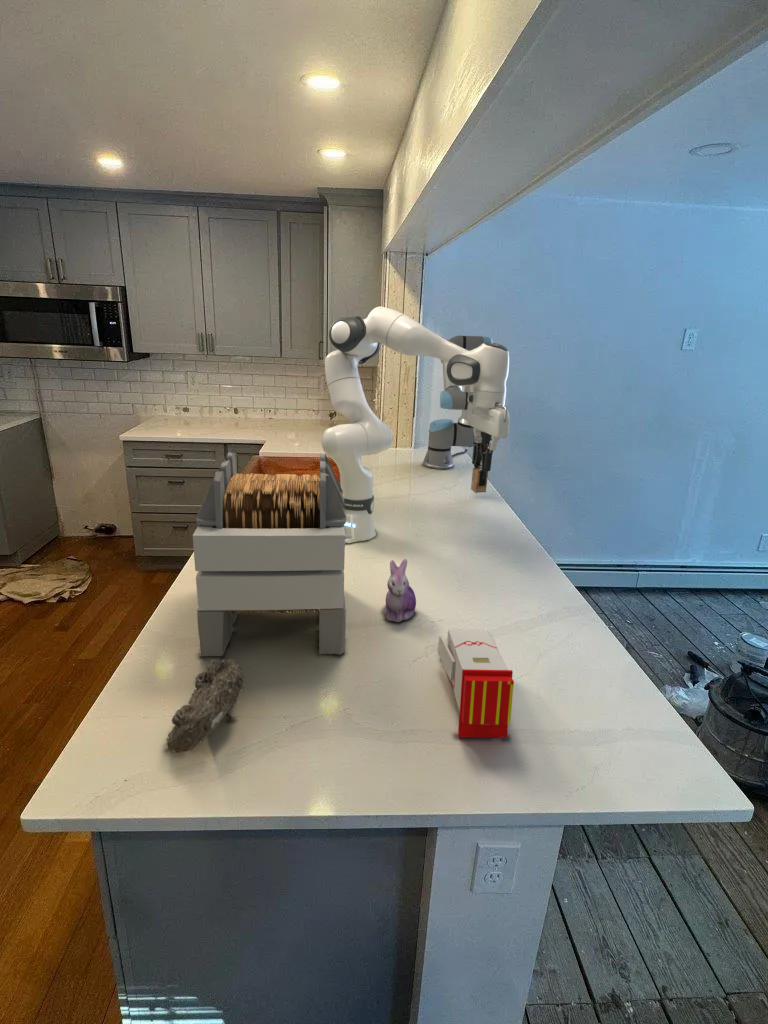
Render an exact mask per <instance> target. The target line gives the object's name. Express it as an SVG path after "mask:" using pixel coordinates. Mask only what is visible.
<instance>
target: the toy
mask: <svg viewBox="0 0 768 1024" xmlns="http://www.w3.org/2000/svg"><path fill="white" fill-rule="evenodd" d="M446 640H447V643H446V641H445V639H444V636H443V635H442V634H439V637H438V646H437V656H438V657H439V659H440V661H441V663H442V666H443V668H444V670H445V672H446V674H447V677H448V679H449V681H450V684H451V687H452V690H453V693H454V697H455V701H456V705H457V708H458V711H459V714H458V715H459V716H458V730H457V731H458V732H457V737H458V738H508V731H509V726H510V725H511V717H512V707H513V697H514V696H513V695H514V684H515V680H514V679H513V673H514V671H513V670H512V669H508V667H507V665H506V662H505V661H504V659H503V658H502V655H501V653H500V651H499V649H498V647H497V643H496V639H495V637H494V635H493V634H491V632H490V631H489V629H467V628H466V629H465V628H463V629H461V628H460V629H459V628H448V630H447V639H446Z"/></svg>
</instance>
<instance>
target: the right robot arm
mask: <svg viewBox="0 0 768 1024" xmlns="http://www.w3.org/2000/svg"><path fill="white" fill-rule="evenodd" d="M447 340H448V341H450V342H453V343H455V344H457V345H459V346H461V347H463V348H465V349H467V350H473V349H475V348H477V347H479V346H481V345H482V344H483V343H486V342H490V343H494V342H493V339H492V338H491V337H489V336H483V335H454V336H453V337H451V338H449V339H447ZM440 363H441V364H442V378H443V390H441V391H440V394H439V407H440V409H441V410H442V409H443V410H448V411H449V410H454V411H456V410H457V411H461V416H460V417H458V418H457V422H454V420H453V419H450V418H449V419H448V418H441V419H435V420H433V421H431V422H430V424H429V429H428V443H427V451H426V454H425V455H424V458H423V464H422V465H423V466H424V467H426V468H428V469H433V470H448V469H452V468H453V467H454V460H453V457H455V456H458V455H463V454H466V453H467V452H468V449H467V448H473V449H472V459H471V464H472V465H473V468H482V470H480V478H479V486H485V484H486V475H487V471H488V472H491V468H492V459H493V452H494V450H490V449H489V444H490V443H491V441H492V439H491V437H492V435H490V434H488V433H485V432H483V431H481V437H482V442H481V443H476V442H475V441H474V440H475V436H474V431H473V429H474V427H472V426H470V425H468V422H467V411H468V404H469V402H468V395H470V394H473V393H476V386H475V385H468V386H464V389H463V386H458V385H455V384H453V383H452V382H451V381H450V380H449V378H448V376H447V371H446V369H447V364H448V363H446V362H444V361H442V360H440ZM463 390H464V391H463ZM452 447H462V448H465V449H464V451H461V452H456V453H454V454H452Z"/></svg>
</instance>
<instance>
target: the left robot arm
mask: <svg viewBox="0 0 768 1024" xmlns="http://www.w3.org/2000/svg"><path fill="white" fill-rule="evenodd" d="M328 338H329V341H330V344H331V345H332V346H333V347H334V348H335V350H333V351H331V352H329V353H328V354H327V355H326V357H325V359H324V373H325V381H326V385H327V388H328V394H329V397H330V402H331V406H332V408H333V410H334V411H335V412H336V413H337V414H338V415H341V417H342V416H343V417H344V418H345V419H346V420H347V421H348V423H342V424H341V423H340V424H337V425H333V426H331V427H328V428H327V429H325V430H324V432H323V433H322V436H321V447H322V450H323V452H324V454H326V456H327V457H329V458H330V459H332V461H333V462H334V463H335V465H336V466H337V470H338V473H339V484H340V486H341V489H342V491H343V496H344V503H345V511H346V523H345V524H344V530H345V544H352V543H357V542H365V541H368V540H372V539H373V538H375V537H376V535H377V532H376V528H375V523H374V513H373V512H374V509H375V496H374V474H373V472H372V471H371V469H369V468H368V467H366V466H364V465H362V457H364V456H370V455H371V456H373V455H378V454H380V453H384V452H385V451H388V450H389V449H390V448H391V446H392V444H393V440H394V435H393V431H392V429H391V427H390V426H389V425H388V424H387V423H386V422H384V421H382V420H381V418H379V417H378V416H377V415H376V414H375V412H374V411H373V410H372V409H371V406H369V403H368V401H367V399H366V395H365V392H364V389H363V385H362V381H361V377H360V373H359V370H358V366H359V365H364V364H365V363H366V362H367V361H368V360H371V359H372V358H374V357H375V356H377V354H378V353H379V352H380V350H381V348H382V345H383V346H385V347H387V348H389V349H390V350H392V351H394V352H396V353H399V354H401V355H405V356H411V357H414V356H415V357H417V356H419V357H430V358H434V359H435V358H436V359H439V360H440V361H441V360H442V361H444V362H446V363H448V364H447V369H446V371H447V376H448V378H449V380H450V381H451V382H452V383H453V384H455V385H458V386H462V387H465V386H468V385H475V386H476V393H473V394H470V395H468V402H469V404H468V411H467V422H468V425H470V426H472V427H474V429H473V431H474V436H475V440H474V441H475V442H476V443H481V442H482V437H481V431H483V432H485V433H488V434H490V435H492V437H491V439H492V440H491V441H490V444H489V449H490V450H493V451H496V450H497V447H498V444H499V443H500V440H501V439H504V438H505V439H506V438H508V436H509V433H510V413H509V411H508V409H507V406H506V396H507V385H506V384H507V379H508V377H509V370H510V369H509V368H510V353H509V349H508V348H507V347H506V346H504V345H502V344H499V343H495V342H493V343H490V342H486V343H483V344H482V345H481V346H479V347H477V348H475V349H473V350H467V349H465V348H463V347H461V346H459V345H457V344H455V343H453V342H450V341H448V340H449V339H446V338H445V337H443V336H441V335H439V334H437V333H436V332H434V331H432V330H430V329H429V328H427V327H426V326H424V325H423V324H421V323H420V322H418V321H416V320H415V319H413V318H411V317H410V316H408V315H406V314H404V313H402V312H400V311H398V310H395V309H392V308H390V307H386V306H376V307H374V308H373V309H372V310H371V311H370V312H369V313H368V315H367V317H365V318H364V319H363V318H362V317H361V316H360V315H355V316H344V317H338V318H337V319H335V320H334V321H333V322H332V323H331V325H330V327H329V331H328Z"/></svg>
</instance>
